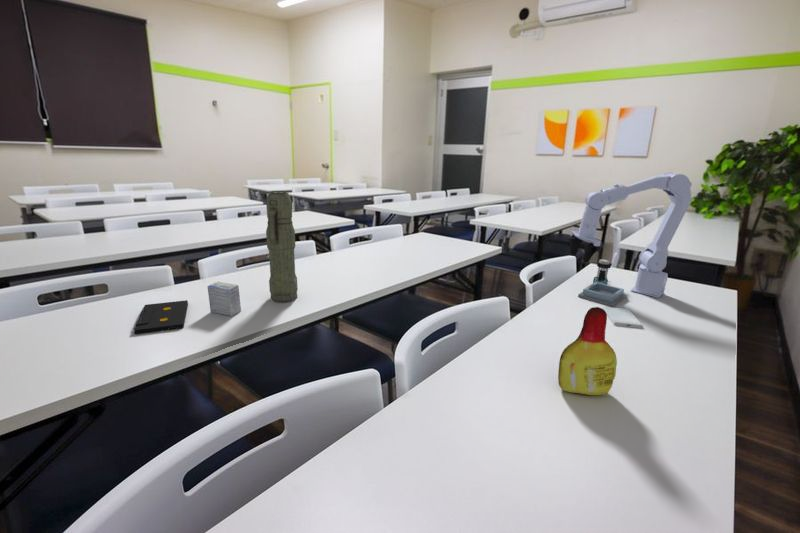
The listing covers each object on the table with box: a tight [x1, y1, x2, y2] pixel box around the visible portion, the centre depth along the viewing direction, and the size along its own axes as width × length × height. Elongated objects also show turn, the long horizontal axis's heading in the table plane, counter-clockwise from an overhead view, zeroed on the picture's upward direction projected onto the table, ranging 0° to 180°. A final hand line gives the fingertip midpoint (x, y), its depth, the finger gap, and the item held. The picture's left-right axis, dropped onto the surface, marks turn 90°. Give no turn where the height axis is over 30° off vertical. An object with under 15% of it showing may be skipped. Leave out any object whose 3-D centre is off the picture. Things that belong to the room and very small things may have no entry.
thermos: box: [265, 190, 298, 303], centre depth 128 cm, size 9×12×35 cm
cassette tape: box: [133, 299, 189, 335], centre depth 115 cm, size 18×12×2 cm, turn 23°
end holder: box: [577, 282, 628, 308], centre depth 144 cm, size 12×14×3 cm
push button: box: [592, 258, 613, 286], centre depth 156 cm, size 7×5×10 cm
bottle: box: [557, 306, 618, 396], centre depth 86 cm, size 12×6×20 cm, turn 86°
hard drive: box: [601, 306, 644, 329], centre depth 127 cm, size 2×8×12 cm
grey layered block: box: [207, 281, 242, 317], centre depth 120 cm, size 8×4×9 cm, turn 71°
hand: (578, 258), depth 154 cm, fingers open, 7 cm apart
